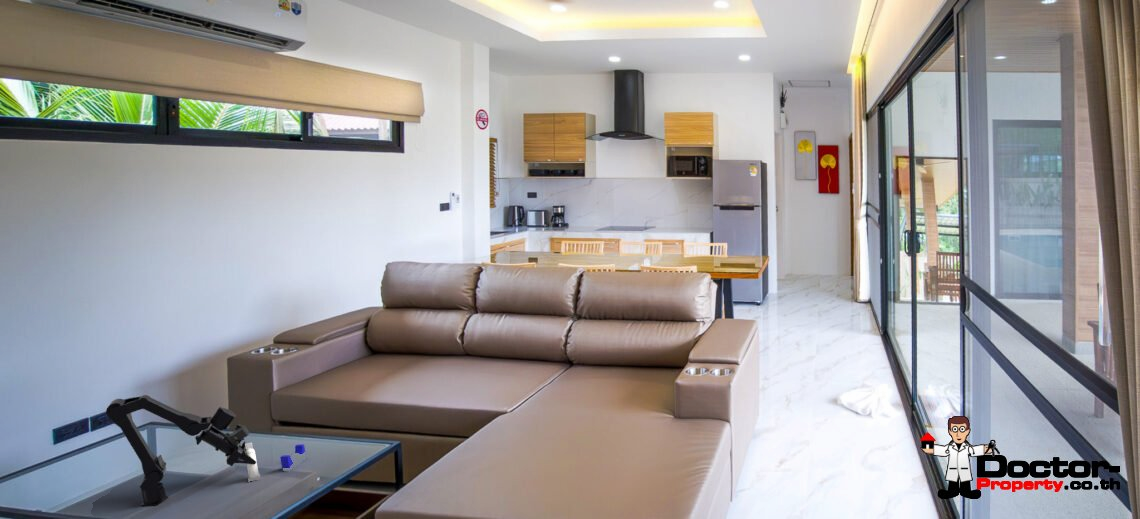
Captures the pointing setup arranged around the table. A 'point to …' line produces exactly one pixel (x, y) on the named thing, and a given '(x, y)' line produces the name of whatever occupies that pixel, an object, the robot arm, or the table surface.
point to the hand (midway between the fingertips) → (255, 461)
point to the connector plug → (252, 467)
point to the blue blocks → (286, 459)
